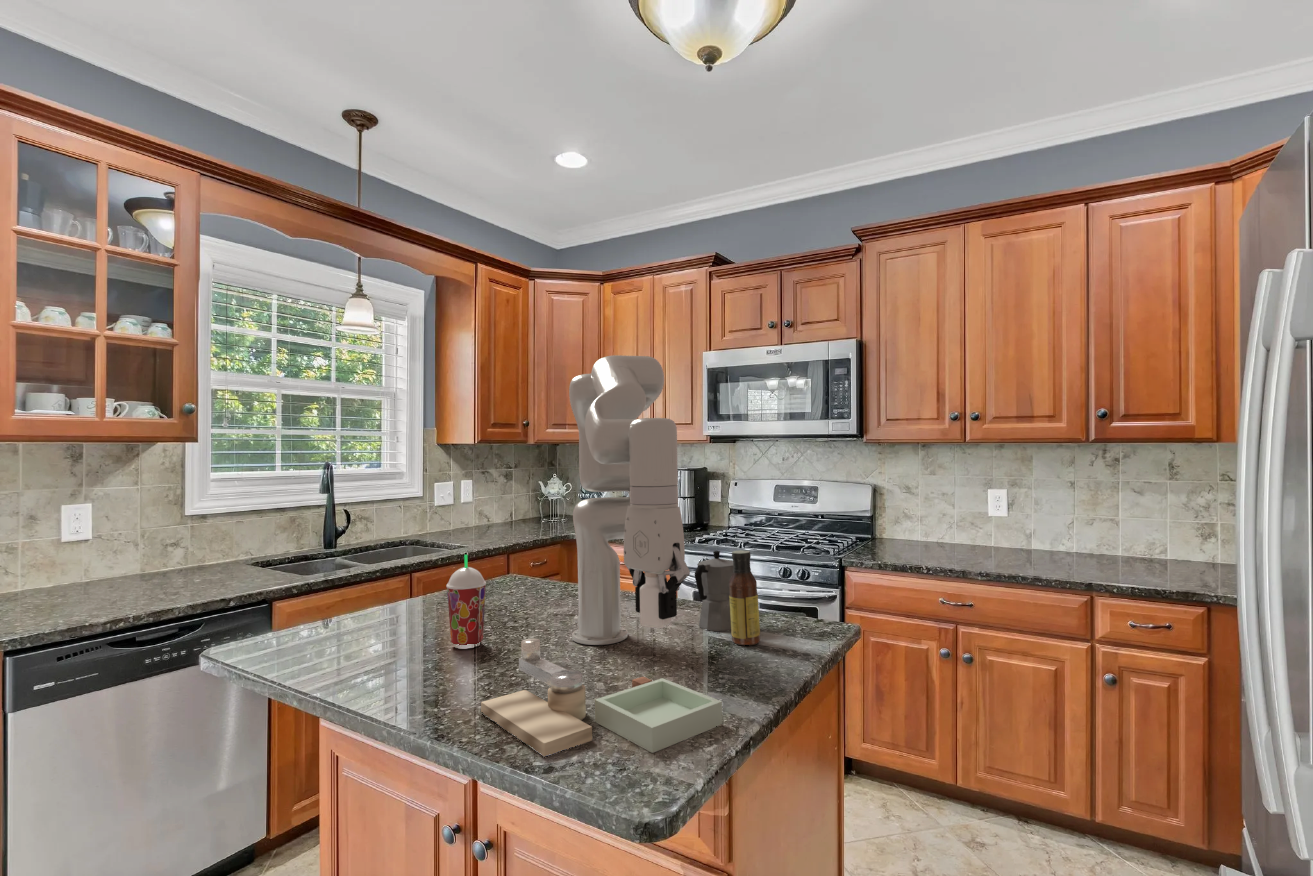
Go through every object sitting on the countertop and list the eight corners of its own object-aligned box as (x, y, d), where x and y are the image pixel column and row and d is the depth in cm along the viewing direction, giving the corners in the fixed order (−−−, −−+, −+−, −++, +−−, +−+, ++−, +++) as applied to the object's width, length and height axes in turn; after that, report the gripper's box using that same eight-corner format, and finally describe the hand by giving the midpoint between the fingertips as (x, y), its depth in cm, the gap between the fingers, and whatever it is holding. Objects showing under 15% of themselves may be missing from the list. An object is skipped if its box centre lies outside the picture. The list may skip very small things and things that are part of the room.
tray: (595, 722, 102) (594, 699, 102) (662, 698, 111) (662, 678, 111) (652, 753, 91) (651, 727, 91) (722, 724, 100) (721, 701, 100)
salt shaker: (638, 627, 100) (637, 565, 100) (649, 621, 104) (648, 561, 104) (662, 630, 98) (661, 567, 99) (672, 623, 102) (671, 562, 102)
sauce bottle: (759, 638, 145) (757, 549, 145) (761, 647, 138) (759, 553, 139) (729, 638, 145) (728, 549, 146) (730, 646, 139) (728, 553, 139)
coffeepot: (716, 617, 163) (715, 545, 164) (749, 623, 157) (747, 548, 158) (680, 631, 151) (678, 554, 151) (714, 638, 145) (712, 557, 146)
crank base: (481, 714, 105) (480, 687, 105) (614, 675, 123) (613, 652, 123) (544, 757, 90) (543, 726, 90) (686, 706, 107) (685, 679, 107)
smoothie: (494, 642, 145) (492, 552, 146) (472, 653, 137) (470, 558, 138) (462, 639, 148) (461, 551, 148) (439, 650, 140) (437, 557, 140)
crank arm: (588, 688, 104) (587, 656, 104) (561, 696, 101) (561, 663, 101) (539, 664, 116) (538, 636, 116) (513, 671, 113) (513, 642, 113)
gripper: (602, 496, 106) (604, 608, 105) (672, 501, 93) (674, 630, 92) (638, 493, 110) (640, 601, 110) (709, 498, 97) (711, 620, 97)
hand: (655, 612), depth 101 cm, fingers closed on salt shaker, 4 cm apart
